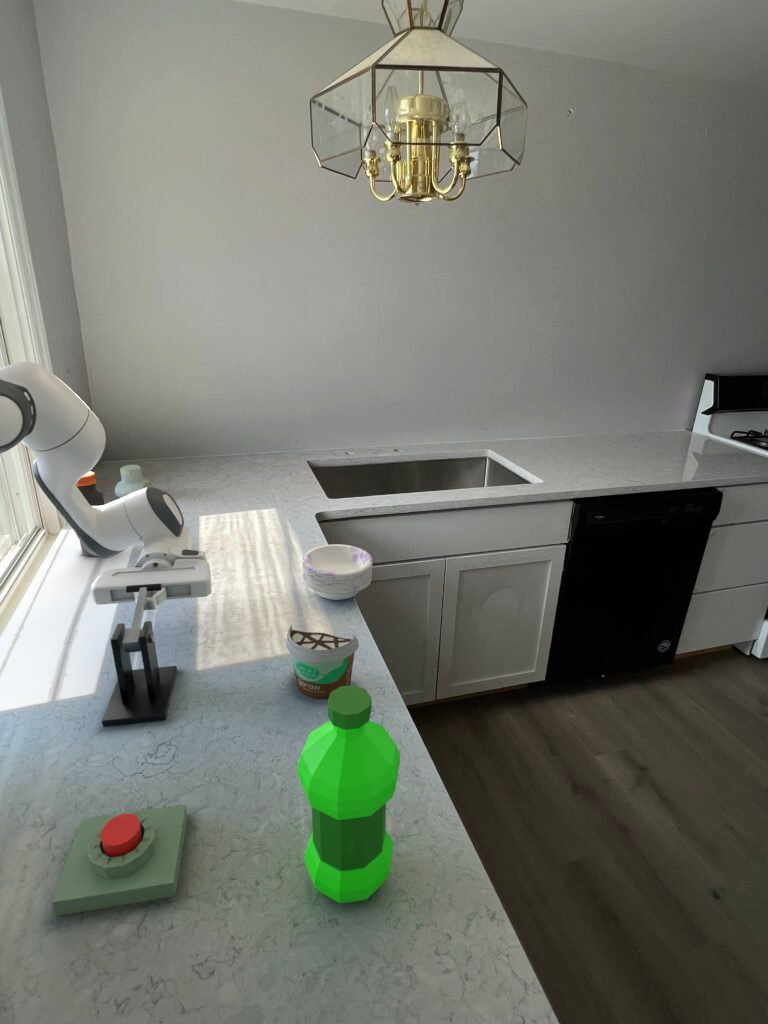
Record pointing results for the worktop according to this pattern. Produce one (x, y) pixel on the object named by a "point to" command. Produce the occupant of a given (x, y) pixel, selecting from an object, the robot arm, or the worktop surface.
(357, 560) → the paper bowls
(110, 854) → the button
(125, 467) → the air freshener
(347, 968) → the worktop surface
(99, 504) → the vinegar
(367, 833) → the plastic bottle
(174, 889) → the button box
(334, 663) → the food container
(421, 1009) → the worktop surface
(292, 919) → the worktop surface
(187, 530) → the robot arm
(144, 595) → the lever
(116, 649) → the bracket
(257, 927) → the worktop surface
